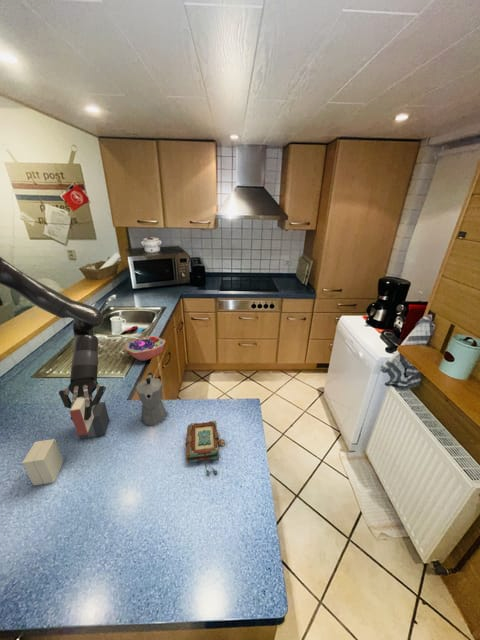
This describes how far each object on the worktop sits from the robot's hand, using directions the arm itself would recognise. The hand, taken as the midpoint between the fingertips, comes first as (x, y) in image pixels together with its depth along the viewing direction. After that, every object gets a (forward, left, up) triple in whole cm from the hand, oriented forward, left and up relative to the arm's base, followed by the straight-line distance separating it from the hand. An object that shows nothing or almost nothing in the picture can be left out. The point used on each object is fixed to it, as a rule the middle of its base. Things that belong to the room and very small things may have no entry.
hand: (80, 420), depth 78 cm
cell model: (+21, +54, -14) cm, 59 cm away
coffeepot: (+21, +10, -14) cm, 27 cm away
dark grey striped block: (0, +10, -14) cm, 17 cm away
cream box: (-11, -4, -14) cm, 18 cm away
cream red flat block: (0, +2, -4) cm, 5 cm away
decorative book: (+36, -13, -14) cm, 41 cm away
